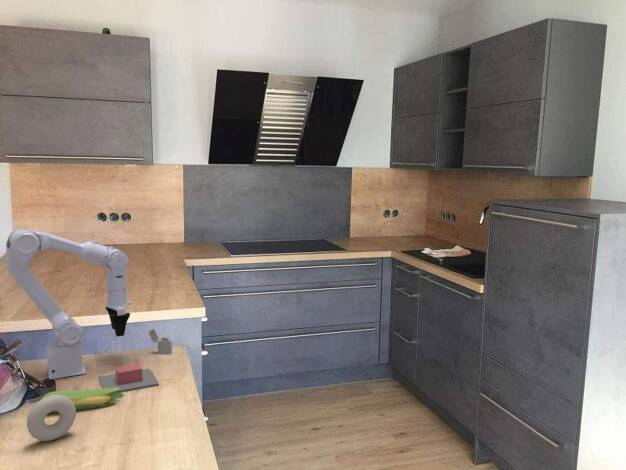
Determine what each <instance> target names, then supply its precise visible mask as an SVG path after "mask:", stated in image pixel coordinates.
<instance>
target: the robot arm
mask: <svg viewBox="0 0 626 470" xmlns="http://www.w3.org/2000/svg"><path fill="white" fill-rule="evenodd" d="M49 248H50V249H51V248H52V249H55V250H59V251H64V252H68V253H71V254H75V255H76V254H77V255H78V257H79V259H80V260H81V261H85V262H88V263H91V264H95V265H98V266H105V267H106V268H105V270H106V271H105V272H106V306H105V307H104V308H105V310H106V312H107V314H108V316H109V321H110V324H111V327H112V328H111V329H112V330H114V332H115V335H116V337H117V338H119V337H124V336H125V332H126V328H127V327H126V326H127V323H128V321H129V318H130V316H131V313H130V312H126V308H127V307H128V306H129V305H132V301H131V300H128V283H127V281H128V280H127V278H128V276H127V267H128V266H129V263H130V259H129V258H128V254H126V253H125V252H124V251H122V250H120V249H117V248H115V247H113V246H111V245H109V246H105V245H103V244H99V242H98V241H96V240H94V239H93V240H91V241H90V240H89V241H84V242H83V243H80V242H76V241H74V240H70V239H67V238H63V237H60V236H58V235H54V234H53V233H52V234H51V233H49V232H45V231H44V232H43V231H39V230H31V231H30V230H29V229H26V228H21V227H20V228H16V229H14V230H13V231H11V232H10V233H9V235H8V238H7V240H6V243H5V252H6V253H5V256H6V258H5V261H6V262H5V263H6V264H5V265H6V270H7V272H8V273H9V275H10V276H12V278H13V279H14V280H15V282H16V283H17V284H18V286H20V288H21V289H22V290H23V291H24V293H25V294H26V295H27V296H28V298H29V299H30V300H31V301H32V302H33V303H34V305H35V306H36V307H37V309H39V311H40V312H41V313H42V315H44V317H45V318H46V319H47V320H48V322H49V323H50V324H51V326H52V332H53V333H54V335H56V338H55V340H54V341H53V342H54V343H51V344H47V345H46V355H47V356H46V359H47V360H46V361H47V363H46V371H47V374H48V379H49V378H50V379H49V380H56V379H60V378H66V377H74V376H79V375H84V374H85V375H86V369H85V365H84V362H83V359H84V358H83V336H84V329H83V327H82V326H80V325H79V324H78V323H77V322H76V320H75V319H74V318H73V317H71V316H69V315H67V314H66V313H65V312H64V310H63V308H61V306H60V305H59V304H58V303H57V302H56V301H55V299H54V298H53V297H52V295H51V294H50V293H49V292H48V290H47V289H46V288H45V287H44V285H43V284H42V283H41V282H40V280H39V279H38V278H37V276H35V274H34V273H33V272H32V270H31V269H30V264H31V260H32V259H33V258H32V257H34V255H35V254H36V253H37V251H39V250H40V251H45V250H47V249H49ZM38 249H39V250H38Z"/></svg>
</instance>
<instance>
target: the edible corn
mask: <svg viewBox="0 0 626 470" xmlns="http://www.w3.org/2000/svg"><path fill="white" fill-rule="evenodd" d="M118 389H120V388H117V387H116V388H104V389H103V388H94V389H93V388H92V389H81V390H80V389H76V390H57V391H55V390H53V391H51V392H47V393H46V394H44V395H43V396H42V397H41V398H40V400H42V399H43V398H46V397H48V396H51V395H62V396H66V397H67V398H69V399H71V401H72V402H73V403H74V405H75V409H76V411H81V410H88V409H89V410H90V409H94V408H95V409H97V408H103V407H104V408H105V407H112V406H113V404H115V403H120V401H119V399H121V398H123V397H124V396H125V394H124V393H123V392H120V393H117V392H113V391H116V390H118ZM38 402H39V401H37V402H36V403H38ZM48 414H51V415H52V414H59V412H58V411H51V412H49V413H48Z"/></svg>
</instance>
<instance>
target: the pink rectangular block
mask: <svg viewBox="0 0 626 470" xmlns="http://www.w3.org/2000/svg"><path fill="white" fill-rule="evenodd" d="M114 369H115V373H114V374H115V375H116V381H117V384H118V385H122V384H127V383H133V382H138V381H142V369H143V368H142V365H141V364H140V363H134V364H128V365H127V364H125V365H120V366H115V367H114Z"/></svg>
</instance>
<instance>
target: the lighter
mask: <svg viewBox="0 0 626 470" xmlns="http://www.w3.org/2000/svg"><path fill="white" fill-rule="evenodd" d="M148 334H149V336H150V338H151V340H152V342H153V343H156V342H157V355H172V352H173V351H172V349H173V346H172V345H173V344H172V342H173V341H172V339H170V338H169V337H167V336H162V337H161V339H160V338H159V336H158V333H157V332H156V331H155V328H154V327H153V328H151V329H149V330H148Z"/></svg>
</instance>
